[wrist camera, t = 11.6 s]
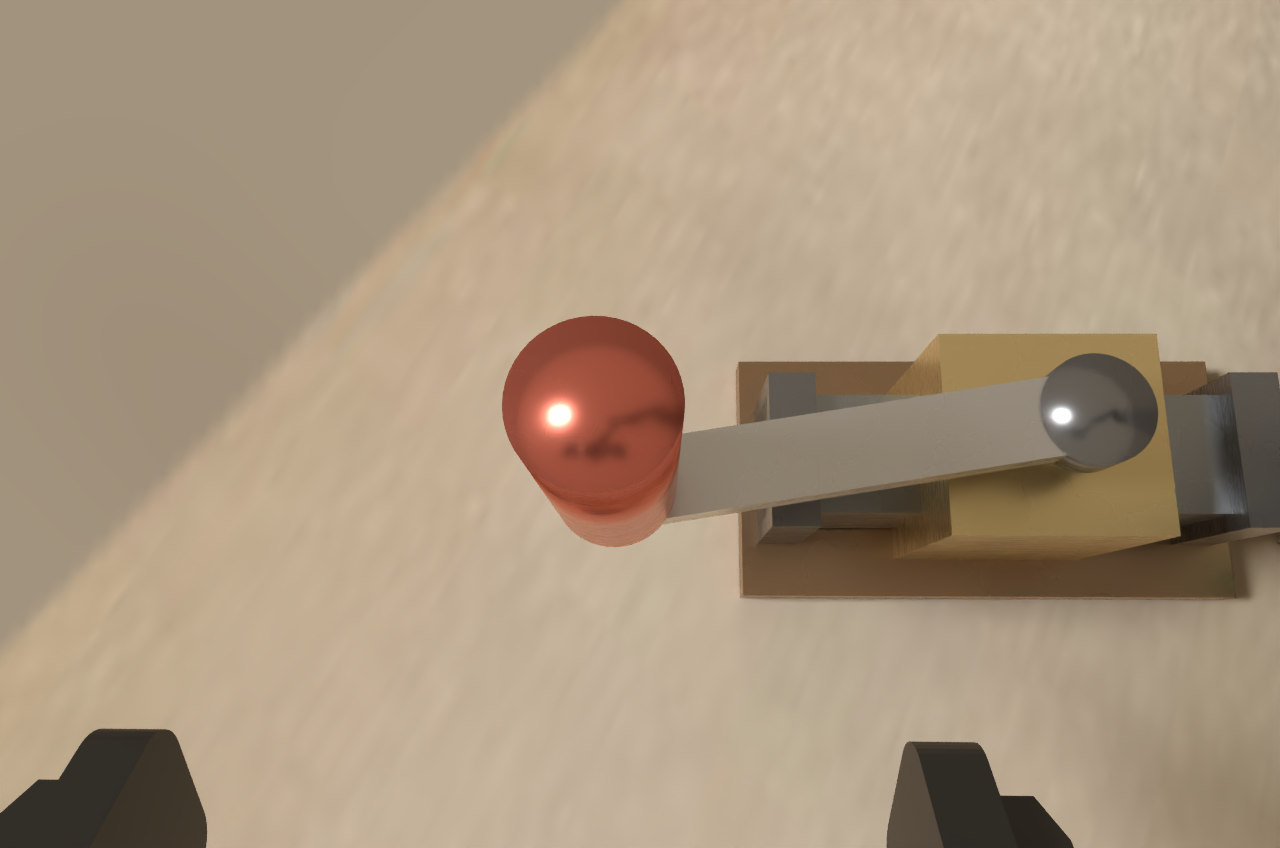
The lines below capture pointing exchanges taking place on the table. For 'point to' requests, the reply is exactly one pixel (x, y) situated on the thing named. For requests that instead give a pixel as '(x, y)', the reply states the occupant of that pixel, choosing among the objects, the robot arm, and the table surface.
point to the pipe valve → (1024, 487)
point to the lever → (783, 434)
